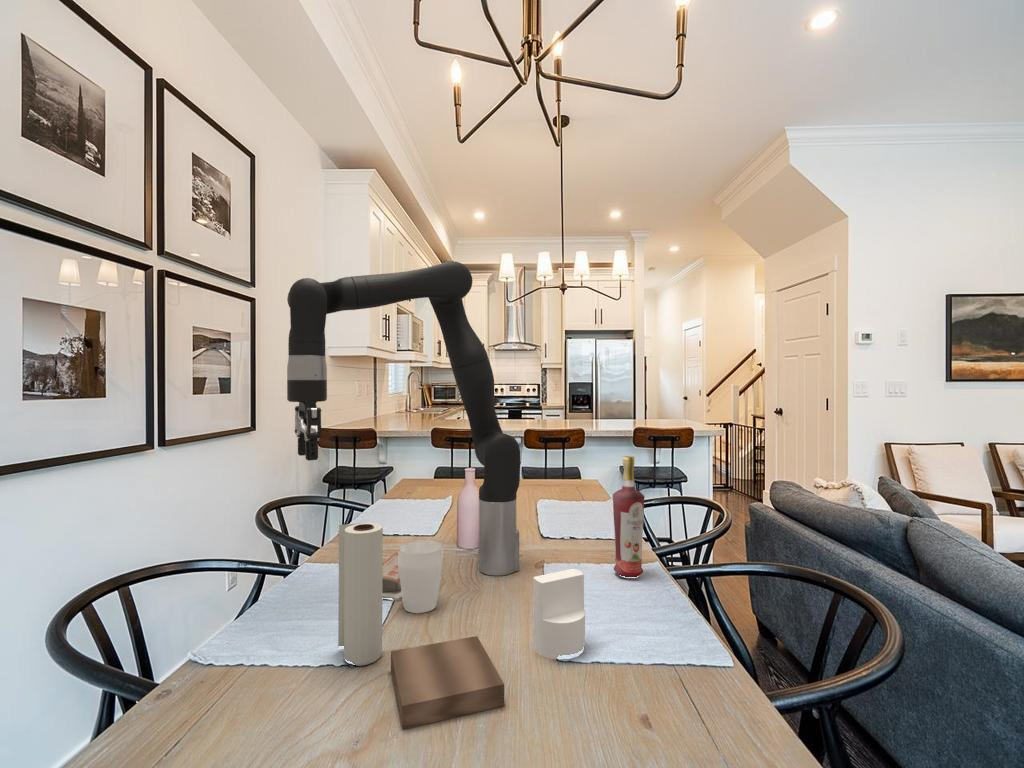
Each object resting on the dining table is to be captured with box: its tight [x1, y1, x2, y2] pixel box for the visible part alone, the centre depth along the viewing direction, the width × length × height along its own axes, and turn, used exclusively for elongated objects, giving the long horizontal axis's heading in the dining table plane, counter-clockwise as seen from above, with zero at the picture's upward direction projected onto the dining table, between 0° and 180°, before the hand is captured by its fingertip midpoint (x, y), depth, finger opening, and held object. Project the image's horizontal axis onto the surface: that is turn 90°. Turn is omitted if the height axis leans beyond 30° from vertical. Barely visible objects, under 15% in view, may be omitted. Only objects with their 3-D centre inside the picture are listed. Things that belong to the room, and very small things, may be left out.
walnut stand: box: [390, 635, 505, 730], centre depth 72 cm, size 14×14×3 cm
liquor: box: [612, 455, 645, 577], centre depth 116 cm, size 7×7×28 cm
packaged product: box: [382, 552, 403, 602], centre depth 111 cm, size 18×5×10 cm
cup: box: [397, 539, 444, 614], centre depth 99 cm, size 9×9×12 cm
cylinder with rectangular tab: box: [532, 568, 586, 660], centre depth 84 cm, size 9×9×12 cm
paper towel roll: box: [337, 522, 384, 667], centre depth 81 cm, size 7×6×21 cm
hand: (307, 457), depth 100 cm, fingers open, 8 cm apart
